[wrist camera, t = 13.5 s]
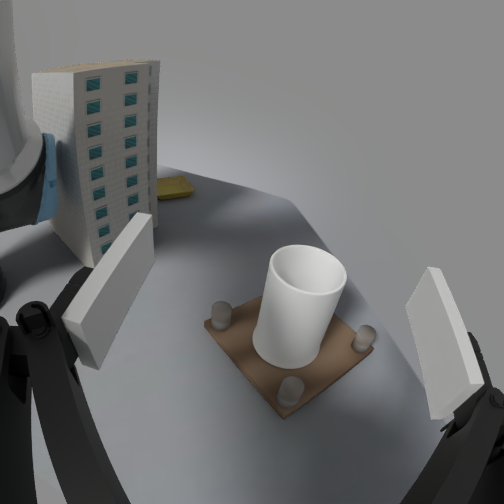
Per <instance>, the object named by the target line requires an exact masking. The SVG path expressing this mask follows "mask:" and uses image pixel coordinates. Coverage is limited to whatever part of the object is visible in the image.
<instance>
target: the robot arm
mask: <svg viewBox="0 0 504 504" xmlns="http://www.w3.org/2000/svg"><path fill="white" fill-rule="evenodd" d="M12 15H13V14H12V0H0V232H3V231H7V230H11V229H14V228H18V227H22V226H26V225H30V224H31V225H36V224H38V223H39V222H42V221H45V220H49V219H51V218H53V217H54V216H55V214H56V213H57V209H58V195H57V183H56V180H57V177H56V174H57V173H56V146H55V137H54V135H53V134H51V133H48V134H47V133H41V131H40V128H39V126H38V125H37V124H36V123H35V122H34V121H33V120H32V119H30V118H28V117H26V116H25V112H24V108H23V102H22V96H21V91H20V84H19V78H18V71H17V63H16V54H15V44H14V32H13V16H12ZM154 262H155V258H154V242H153V222H152V215H151V214H145V213H139V212H137V213H136V214H135V215H134V217H133V218H132V219H131V221H130V222H129V223H128V224H127V226H126V227H125V228H124V229H123V231H122V232H121V233H120V235H119V236H118V237H117V239H116V240H115V241H114V243H113V244H112V245H111V247H110V248H109V249H108V251H107V252H106V253H105V255H104V256H103V257H102V259H101V260H100V261H99V263H98V264H97V266H96V267H95V268H90V267H86V266H85V267H83V268H82V269H80V270H79V271H77V272H76V273H75V274H74V275H73V277H72V278H71V279H70V281H69V283H68V284H67V285H66V286H65V288H64V289H63V291H62V292H61V293H60V295H59V296H58V297H57V299H56V300H55V302H54V303H53V305H52V306H51V308H50V309H48V306H47V305H46V304H45V303H43V302H40V301H32V302H29V303H27V304H25V305H24V306H22V307H21V308H20V309H19V311H18V313H17V314H16V322H17V324H18V326H9V324H8V322H7V320H6V319H5V318H3V317H1V316H0V504H37V497H36V490H35V481H34V471H33V458H32V438H31V393H32V389H33V394H34V399H35V404H36V408H37V412H38V416H39V420H40V424H41V428H42V432H43V435H44V439H45V442H46V445H47V449H48V452H49V455H50V458H51V461H52V464H53V467H54V470H55V473H56V476H57V479H58V481H59V484H60V487H61V489H62V492H63V494H64V497H65V499H66V502H67V504H131V503H130V501H129V499H128V498H127V496H126V494H125V492H124V490H123V488H122V486H121V484H120V482H119V480H118V477H117V475H116V473H115V471H114V469H113V467H112V465H111V462H110V460H109V458H108V456H107V453H106V451H105V449H104V446H103V444H102V441H101V439H100V436H99V434H98V431H97V429H96V426H95V423H94V421H93V418H92V415H91V413H90V410H89V407H88V404H87V401H86V398H85V395H84V392H83V389H82V386H81V383H80V379H79V376H78V373H77V369H76V367H75V365H74V363H75V361H76V359H77V358H78V357H79V359H80V361H81V363H82V365H85V366H88V367H91V368H94V369H97V370H99V369H100V367H101V365H102V363H103V361H104V359H105V357H106V355H107V353H108V351H109V348H110V346H111V344H112V342H113V340H114V338H115V336H116V334H117V332H118V330H119V328H120V326H121V324H122V322H123V320H124V318H125V316H126V315H127V313H128V311H129V309H130V307H131V305H132V303H133V301H134V299H135V297H136V295H137V294H138V292H139V290H140V288H141V286H142V284H143V282H144V281H145V279H146V277H147V275H148V273H149V271H150V270H151V268H152V266H153V264H154ZM5 288H6V281H5V277H4V275H3V272H2V270H1V267H0V301H1V300H2V298H3V295H4V292H5ZM405 307H406V310H407V314H408V318H409V321H410V325H411V329H412V333H413V337H414V341H415V345H416V349H417V353H418V357H419V361H420V365H421V370H422V375H423V380H424V384H425V389H426V395H427V400H428V405H429V411H430V417H431V420H433V419H445V418H446V417H448V416H449V415H450V414H451V413H454V417H455V418H454V419H453V420H452V421H450V422H449V423H448V424H447V425H445V426H444V427H443V428H442V429H441V430H440V431H441V432H442V431H444V430H445V429H446V431H445V433H444V435H443V437H442V439H441V440H440V442H439V444H438V446H437V448H436V449H435V451H434V453H433V454H432V456H431V458H430V459H429V461H428V463H427V464H426V466H425V467H424V469H423V471H422V472H421V474H420V475H419V477H418V478H417V480H416V481H415V483H414V484H413V486H412V487H411V489H410V490H409V492H408V493H407V494H406V496H405V497H404V499H403V500H402V501H401V503H400V504H504V394H503V393H502V392H501V391H500V390H499V389H497V388H493V386H492V384H491V380H490V377H489V374H488V371H487V368H486V365H485V362H484V360H483V356H482V353H480V351H481V350H480V348H479V345H478V342H477V340H476V339H475V338H474V336H473V335H472V333H471V332H467V331H466V328H465V326H464V323H463V321H462V318H461V315H460V313H459V311H458V308H457V306H456V303H455V301H454V299H453V296H452V294H451V292H450V289H449V287H448V285H447V283H446V281H445V278H444V276H443V274H442V272H441V270H440V269H438V268H434V267H429V266H428V267H427V269H426V271H425V273H424V274H423V276H422V278H421V280H420V282H419V284H418V286H417V288H416V289H415V291H414V293H413V294H412V296H411V298H410V299H409V301H408V303H407V304H406V306H405Z"/></svg>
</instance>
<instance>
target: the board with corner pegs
mask: <svg viewBox="0 0 504 504" xmlns="http://www.w3.org/2000/svg"><path fill="white" fill-rule="evenodd" d="M262 298H263V296H261V297H258V298H256V299H254V300H252V301H249V302H247V303H245V304H243V305H240V306H238V307H236V308H234V309H232V307H231V305H230V304H229V303H227V302H223V301H219V302H216V303H214V304H213V306H212V317H211V319H208V320H206V321H204V327H205V328H206V329H207V330H208V332H209V333H210V334H211V335H212V337H213V338H214V339H215V340H216V342H217V343H218V344H219V345H220V347H221V348H222V349H223V350H224V351H225V353H226V354H227V355H228V356H229V357H230V359H231V360H232V361H233V362H234V363H235V365H236V366H237V367H238V368H239V369H240V371H241V372H242V373H243V374H244V375H245V376H246V378H247V379H248V380H249V381H250V382H251V383H252V385H253V386H254V387H255V388H256V389H257V390H258V391H259V393H260V394H261V395H262V396H263V397H264V398H265V399H266V400H267V402H268V403H269V404H270V405H271V406H272V407H273V408H274V409H275V410H276V412H277V413H278V414H279V415H280V416H281V417H282V418H283V419H285V418H287V417H288V416H289V415H291V414H292V413H294V412H295V411H297V410H298V409H300V408H301V407H302V406H304V405H305V404H307V403H308V402H309V401H311V400H312V399H313V398H315V397H316V396H318V395H319V394H320V393H322V392H323V391H324V390H326V389H327V388H328V387H329V386H331V385H332V384H333V383H335V382H336V381H337V380H339V379H340V378H341V377H342V376H344V375H345V374H346V373H347V372H349V371H350V370H351V369H352V368H354V367H355V366H356V365H357V364H358V363H360V362H361V361H362V360H363V359H364V358H366V357H367V356H368V355H369V354H370V353H371V352H372V351H373V349H374V348H373V347H372V346H371V343H372V342H373V340H374V338H375V337H376V331H375V330H374V328H372V327H371V326H368V325H362V326H361V327H360V328H359V330H358V332H357V333H356V332H354V331H353V330H352V329H351V328H350V327H349V326H348V325H346V324H345V323H344V322H343V321H342V320H341V319H339V318H338V317H337V316H336V315H335V314H334V313H333V315H332V318H331V320H330V323H329V325H328V327H327V330H326V332H325V334H324V337H323V339H322V341H321V344H320V349H319V353H318V355H317V357H316V358H315V359H314V360H313V361H312V362H311V363H310V364H308V365H306V366H304V367H301V368H296V369H284V368H280V367H276V366H274V365H272V364H270V363H268V362H266V361H265V360H264V359H263V358H261V357H260V355H259V354H258V353H257V351H256V350H255V348H254V345H253V332H254V329H255V327H256V326H257V322H258V317H259V313H260V308H261V303H262Z"/></svg>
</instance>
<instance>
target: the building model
mask: <svg viewBox="0 0 504 504" xmlns="http://www.w3.org/2000/svg"><path fill="white" fill-rule="evenodd" d="M159 72H160V61H157V60H119V61H111V62H101V63H84V64H78V65H72V66H66V67H60V68H55V69H50V70H45V71H41V72H36V73H32V100H33V115H34V122H35V123H36V124H37V125H38V126H39V128H40V131H41V133H47V134H48V133H51V134H53V135H54V137H55V146H56V173H57V174H56V177H57V180H56V183H57V195H58V209H57V213H56V214H55V216H54V217H53V218H51V219H49V222H50V226H51V228H52V229H53V230H54V231H55V233H56V234H57V235H58V236H59V237H60V238H61V240H62V241H63V242H64V243H65V244H66V245H67V246H68V248H69V249H70V250H71V251H72V252H73V253H74V254H75V255H76V257H77V258H78V259H79V260H80V261H81V262H82V263H83V264H84V265H85V266H86V267H90V268H95V267H96V266H97V264H98V263H99V261H100V260H101V259H102V257H103V256H104V255H105V253H106V252H107V251H108V249H109V248H110V247H111V245H112V244H113V243H114V241H115V240H116V239H117V237H118V236H119V235H120V233H121V232H122V231H123V229H124V228H125V227H126V226H127V224H128V223H129V222H130V221H131V219H132V218H133V217H134V215H135V214H136V213H137V212H139V213H145V214H151V215H152V222H153V229H154V228H156V227H158V209H157V111H158V89H159Z"/></svg>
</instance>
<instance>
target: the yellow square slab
mask: <svg viewBox="0 0 504 504" xmlns="http://www.w3.org/2000/svg"><path fill="white" fill-rule="evenodd" d="M194 191H195V190H194V188H193V187H192V186H191V185H190V183H189V182H188V181H187V179H186V178H185V177H184V176H177V177H168V178H160V179H157V197H158V198H159V199H160V200H165V199H172V198H178V197H186V196H189V195H191V194H192V193H193V192H194Z"/></svg>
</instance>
